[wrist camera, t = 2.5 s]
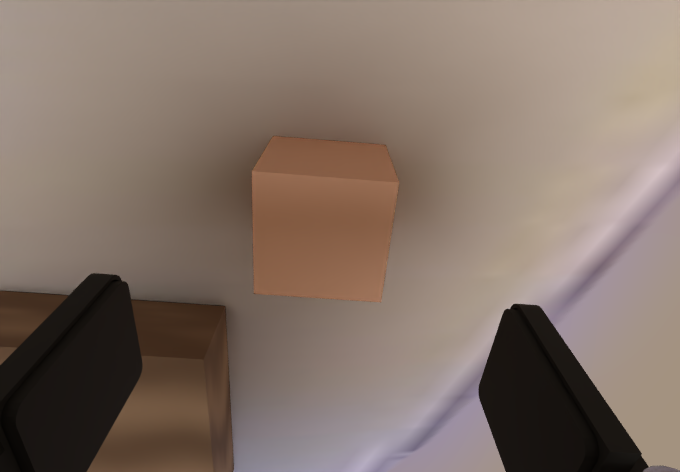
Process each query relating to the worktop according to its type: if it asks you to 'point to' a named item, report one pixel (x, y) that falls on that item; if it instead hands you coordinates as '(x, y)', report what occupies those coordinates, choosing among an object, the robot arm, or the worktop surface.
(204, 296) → the worktop surface
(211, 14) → the worktop surface
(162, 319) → the walnut stand
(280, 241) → the terracotta cube
